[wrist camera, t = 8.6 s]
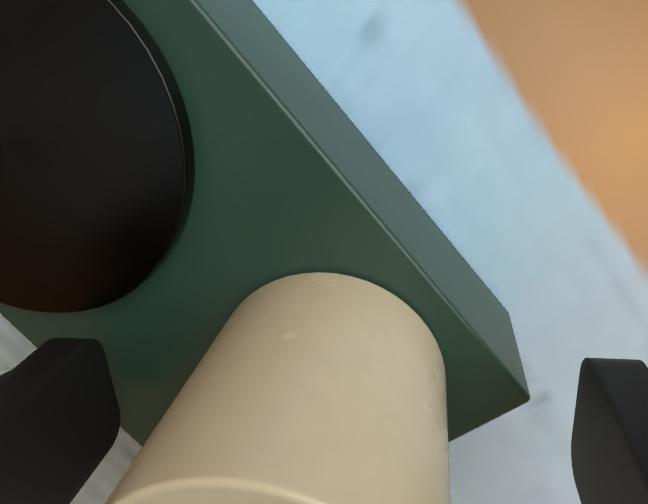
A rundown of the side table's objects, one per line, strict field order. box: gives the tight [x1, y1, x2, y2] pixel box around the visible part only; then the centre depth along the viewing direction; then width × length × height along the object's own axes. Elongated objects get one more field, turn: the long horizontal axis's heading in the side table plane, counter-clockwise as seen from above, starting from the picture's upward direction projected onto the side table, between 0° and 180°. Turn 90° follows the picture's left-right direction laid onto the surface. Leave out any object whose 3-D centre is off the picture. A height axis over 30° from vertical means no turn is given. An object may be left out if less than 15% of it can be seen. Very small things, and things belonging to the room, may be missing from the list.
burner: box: [0, 0, 195, 314], centre depth 9 cm, size 6×6×1 cm
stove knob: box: [105, 272, 450, 504], centre depth 8 cm, size 4×4×5 cm
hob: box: [0, 0, 530, 447], centre depth 11 cm, size 12×7×3 cm, turn 41°
